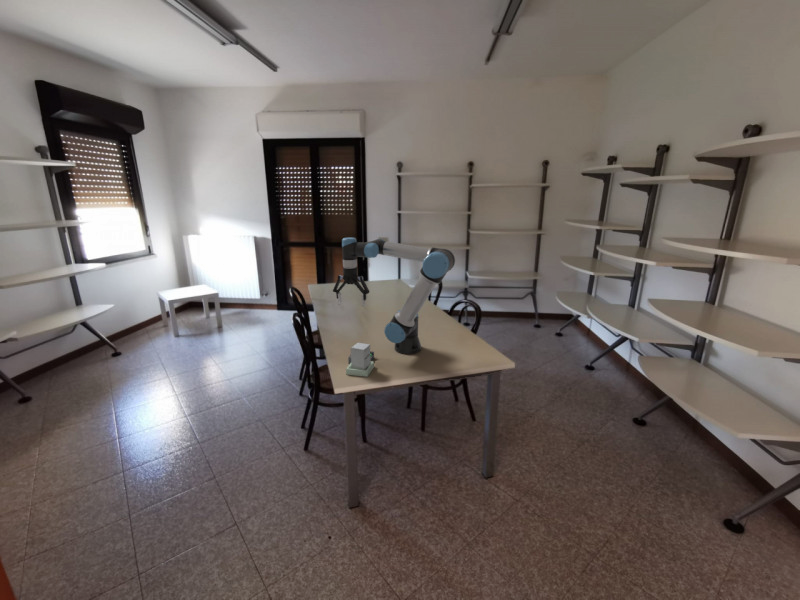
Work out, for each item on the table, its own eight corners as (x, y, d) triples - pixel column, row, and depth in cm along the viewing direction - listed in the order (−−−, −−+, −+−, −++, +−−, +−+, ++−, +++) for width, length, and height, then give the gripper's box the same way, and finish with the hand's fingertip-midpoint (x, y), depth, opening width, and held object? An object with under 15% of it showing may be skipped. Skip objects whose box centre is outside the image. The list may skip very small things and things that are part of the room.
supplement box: (364, 373, 179) (363, 349, 176) (351, 371, 182) (350, 347, 178) (371, 367, 186) (370, 344, 182) (358, 364, 189) (357, 342, 185)
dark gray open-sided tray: (374, 357, 199) (374, 351, 198) (368, 365, 189) (368, 359, 188) (354, 355, 201) (354, 349, 200) (348, 363, 192) (348, 357, 191)
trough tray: (373, 366, 188) (373, 361, 187) (367, 376, 178) (367, 371, 177) (353, 364, 190) (353, 359, 190) (346, 374, 180) (345, 369, 179)
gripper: (374, 266, 196) (375, 304, 202) (330, 264, 201) (333, 301, 207) (370, 269, 189) (371, 308, 195) (325, 267, 194) (327, 305, 200)
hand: (351, 305), depth 201 cm, fingers open, 13 cm apart
